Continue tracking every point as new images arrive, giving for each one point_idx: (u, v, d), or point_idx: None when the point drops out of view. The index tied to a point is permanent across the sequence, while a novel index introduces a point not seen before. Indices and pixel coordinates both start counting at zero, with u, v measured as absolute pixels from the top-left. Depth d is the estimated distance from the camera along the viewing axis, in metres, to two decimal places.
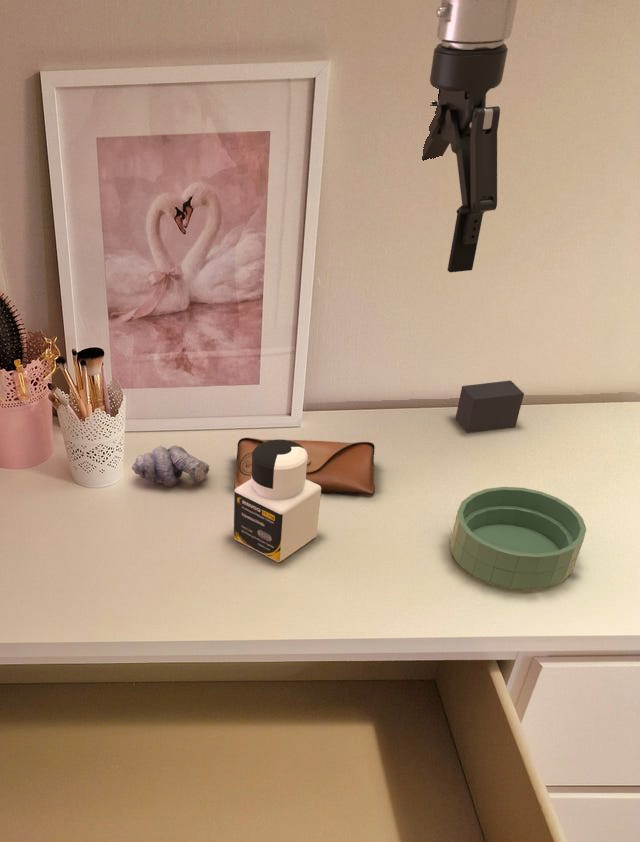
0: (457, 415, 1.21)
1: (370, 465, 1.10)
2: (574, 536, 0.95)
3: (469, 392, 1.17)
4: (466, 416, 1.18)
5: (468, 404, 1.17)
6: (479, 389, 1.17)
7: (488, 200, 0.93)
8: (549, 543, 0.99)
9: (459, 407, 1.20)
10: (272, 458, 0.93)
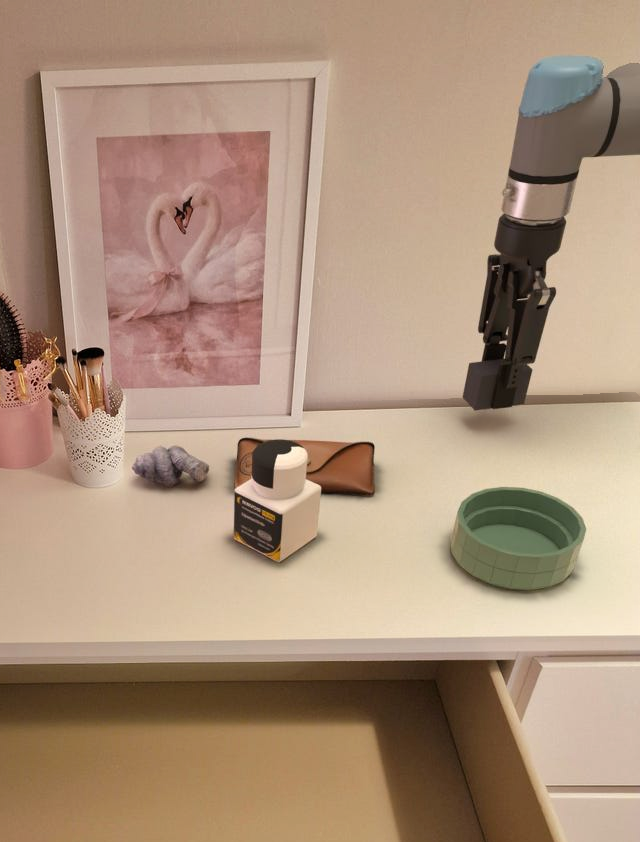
0: (464, 393, 1.18)
1: (370, 465, 1.10)
2: (574, 536, 0.95)
3: (476, 369, 1.14)
4: (473, 394, 1.16)
5: (476, 381, 1.15)
6: (486, 366, 1.15)
7: (527, 356, 1.08)
8: (549, 543, 0.99)
9: (466, 385, 1.17)
10: (272, 458, 0.93)
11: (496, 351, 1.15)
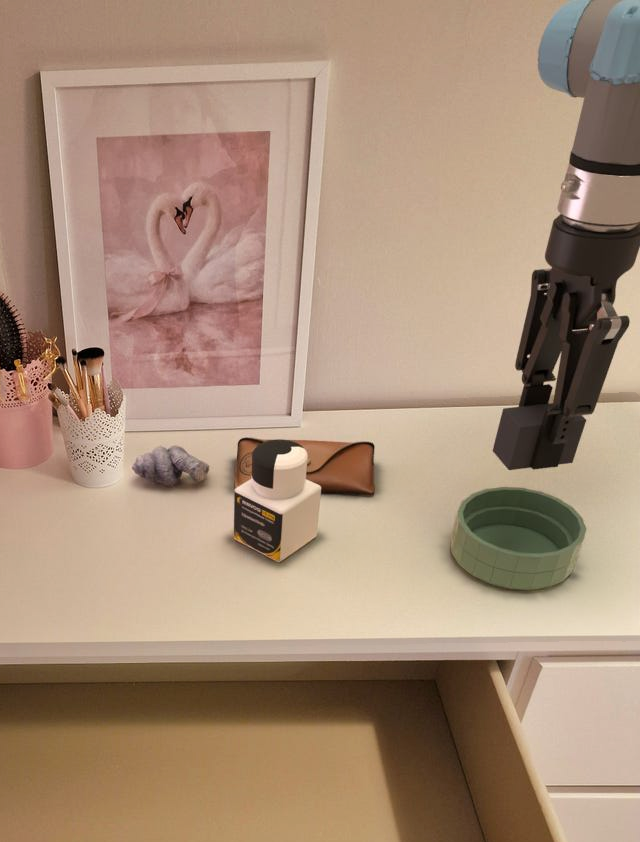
0: (495, 446, 0.92)
1: (370, 465, 1.10)
2: (574, 536, 0.95)
3: (513, 417, 0.88)
4: (507, 449, 0.89)
5: (512, 433, 0.88)
6: (526, 413, 0.88)
7: (584, 405, 0.82)
8: (549, 543, 0.99)
9: (498, 436, 0.91)
10: (272, 458, 0.93)
11: (539, 394, 0.89)
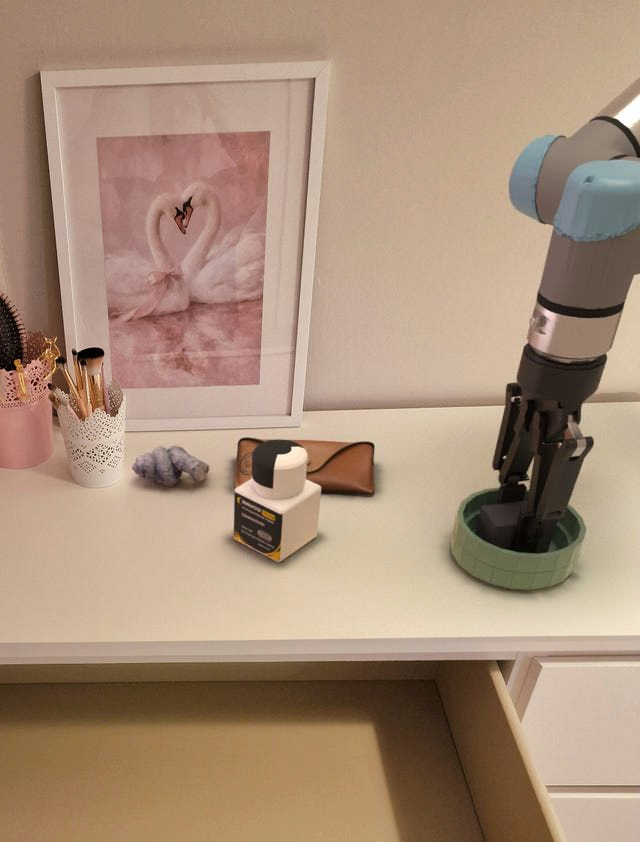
0: None
1: (370, 465, 1.10)
2: (574, 536, 0.95)
3: (490, 516, 0.95)
4: None
5: (490, 531, 0.95)
6: (502, 511, 0.95)
7: (555, 510, 0.89)
8: None
9: (477, 530, 0.98)
10: (272, 458, 0.93)
11: (514, 493, 0.96)
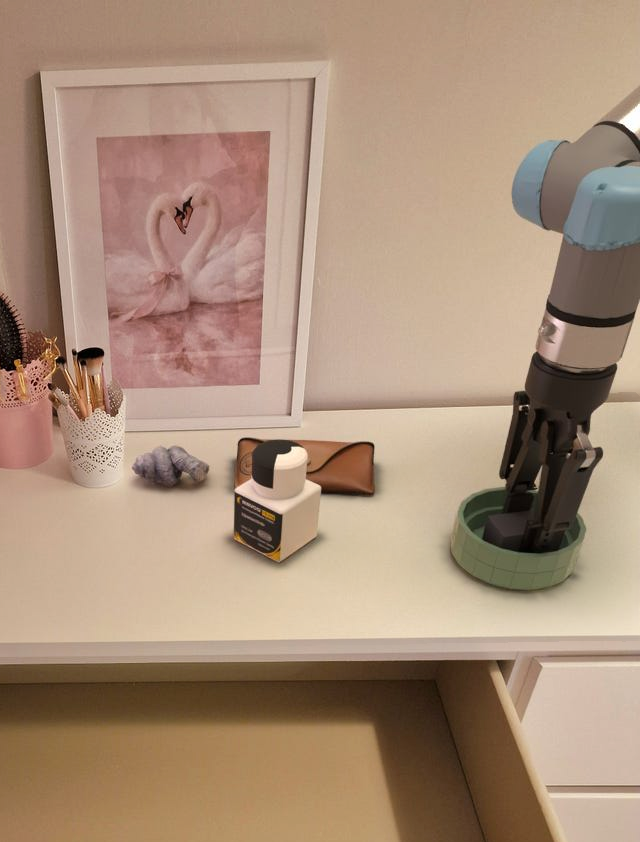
0: None
1: (370, 465, 1.10)
2: (574, 536, 0.95)
3: (497, 526, 0.93)
4: None
5: (496, 541, 0.93)
6: (509, 521, 0.94)
7: (563, 521, 0.87)
8: None
9: (484, 540, 0.96)
10: (272, 458, 0.93)
11: (521, 503, 0.94)
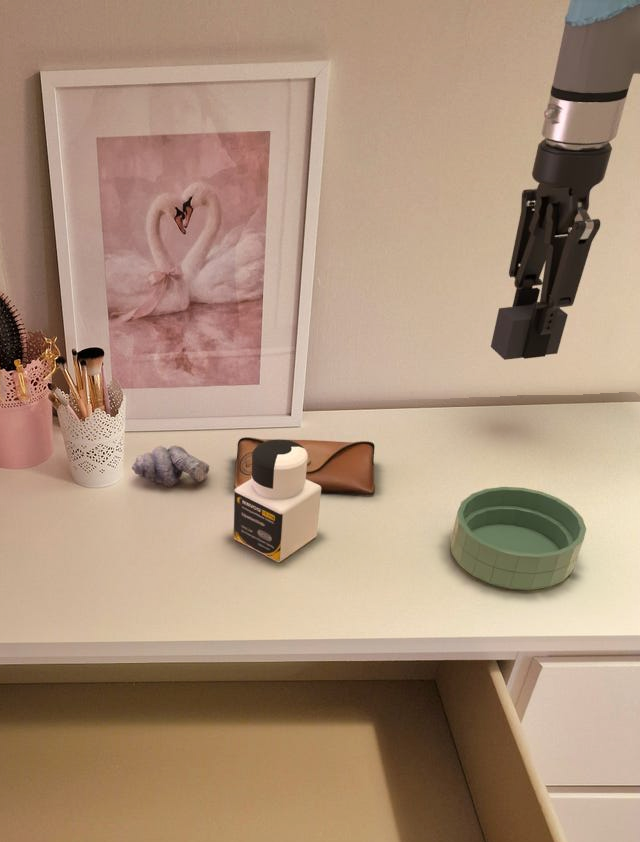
0: (493, 342, 1.10)
1: (370, 465, 1.10)
2: (574, 536, 0.95)
3: (507, 314, 1.06)
4: (503, 341, 1.08)
5: (507, 328, 1.06)
6: (518, 311, 1.07)
7: (565, 297, 1.00)
8: (549, 543, 0.99)
9: (495, 332, 1.09)
10: (272, 458, 0.93)
11: (529, 296, 1.07)
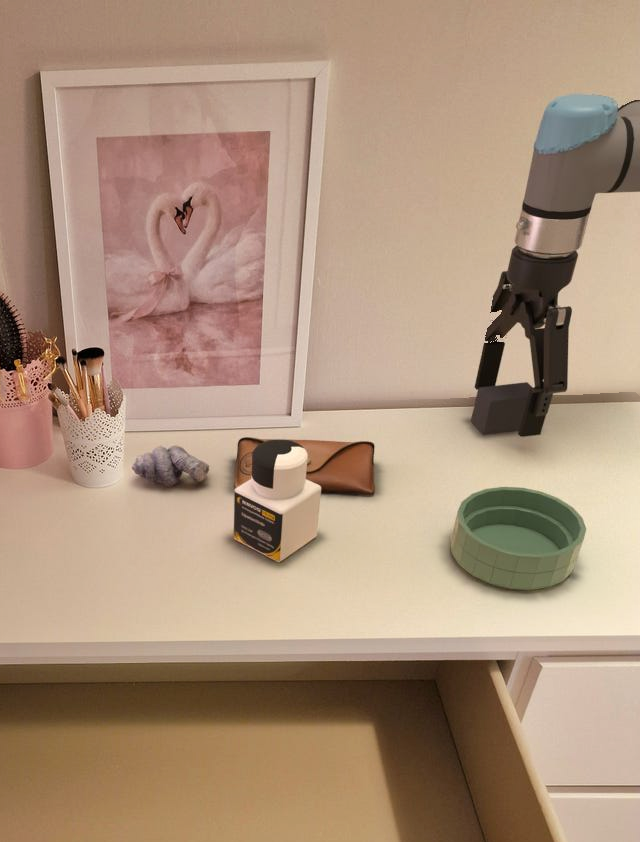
0: (473, 417, 1.20)
1: (370, 464, 1.10)
2: (574, 536, 0.95)
3: (485, 394, 1.16)
4: (482, 418, 1.18)
5: (485, 406, 1.16)
6: (495, 391, 1.17)
7: (559, 384, 1.05)
8: (549, 543, 0.99)
9: (475, 409, 1.19)
10: (272, 458, 0.93)
11: (495, 349, 1.19)
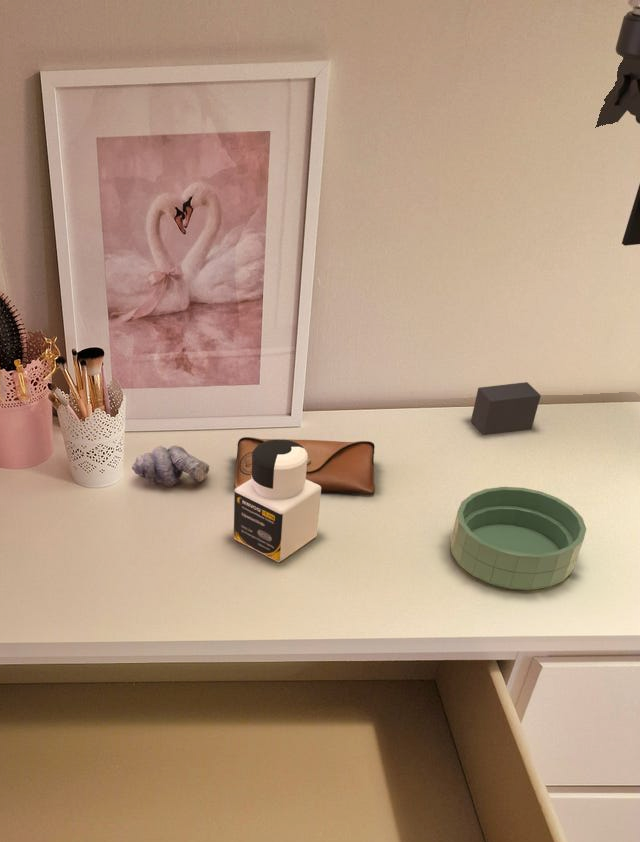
0: (473, 417, 1.20)
1: (370, 464, 1.10)
2: (574, 536, 0.95)
3: (485, 394, 1.16)
4: (482, 418, 1.18)
5: (485, 406, 1.16)
6: (495, 391, 1.17)
7: None
8: (549, 543, 0.99)
9: (475, 409, 1.19)
10: (272, 458, 0.93)
11: None
